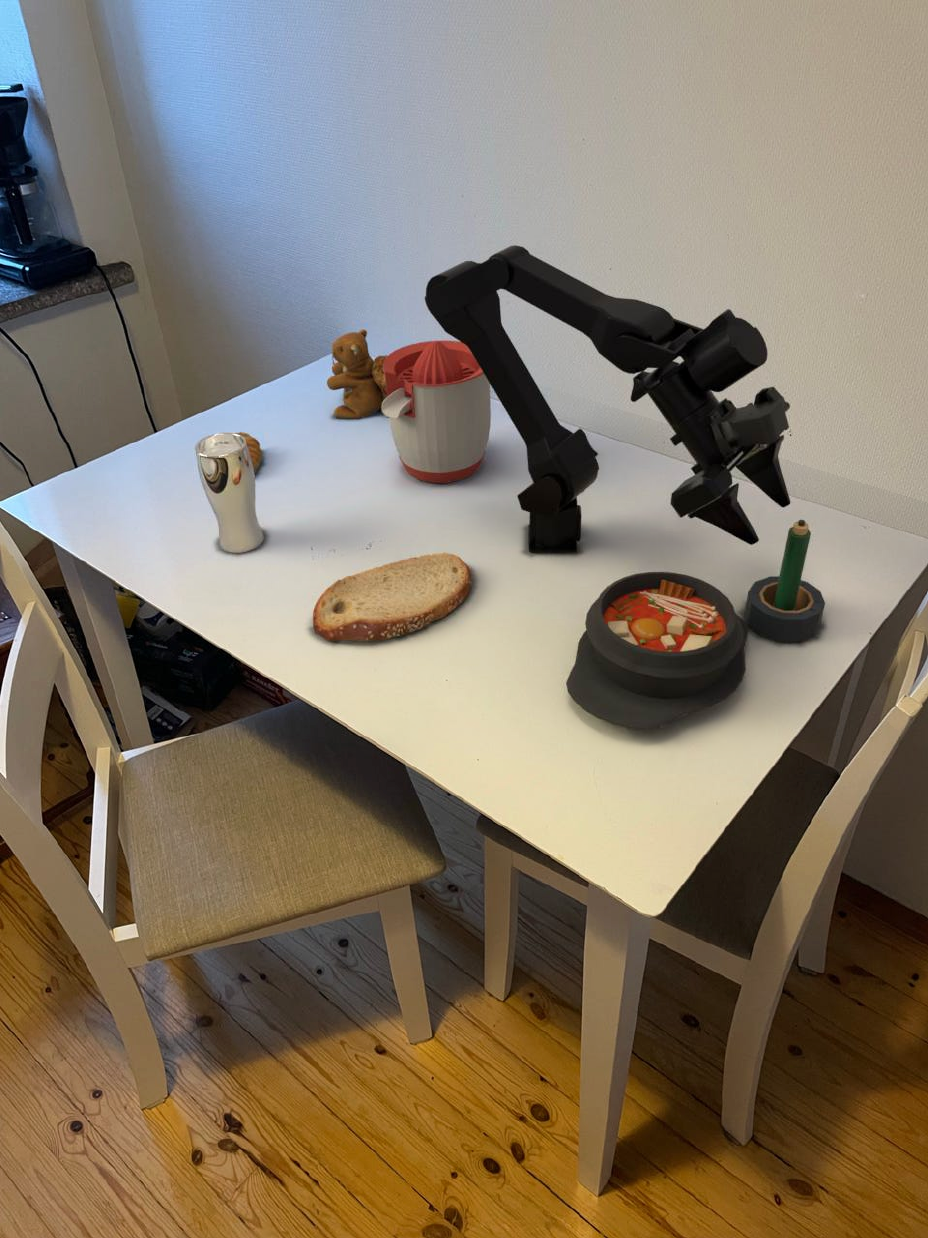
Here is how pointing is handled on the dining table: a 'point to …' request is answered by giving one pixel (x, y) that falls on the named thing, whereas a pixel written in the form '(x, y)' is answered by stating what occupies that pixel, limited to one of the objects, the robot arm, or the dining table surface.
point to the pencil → (792, 566)
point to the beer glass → (230, 489)
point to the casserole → (657, 651)
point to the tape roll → (783, 612)
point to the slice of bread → (392, 598)
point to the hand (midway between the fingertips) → (771, 523)
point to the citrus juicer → (437, 409)
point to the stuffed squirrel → (357, 376)
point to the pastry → (253, 450)
